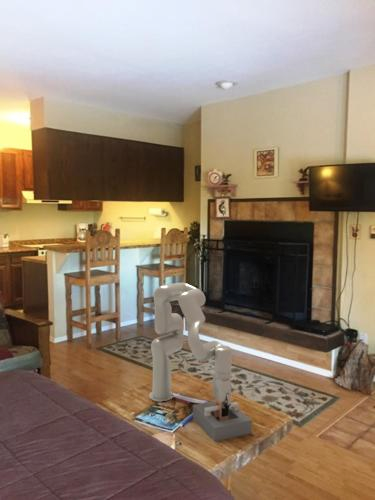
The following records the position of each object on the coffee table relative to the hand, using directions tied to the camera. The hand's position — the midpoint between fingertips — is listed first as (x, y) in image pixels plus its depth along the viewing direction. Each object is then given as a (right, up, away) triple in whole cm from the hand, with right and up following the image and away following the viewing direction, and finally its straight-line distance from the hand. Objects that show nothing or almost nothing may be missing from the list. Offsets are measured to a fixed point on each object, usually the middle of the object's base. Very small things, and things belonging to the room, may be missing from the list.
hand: (221, 412), depth 191 cm
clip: (0, -3, 0) cm, 3 cm away
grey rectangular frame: (0, -6, +1) cm, 6 cm away
